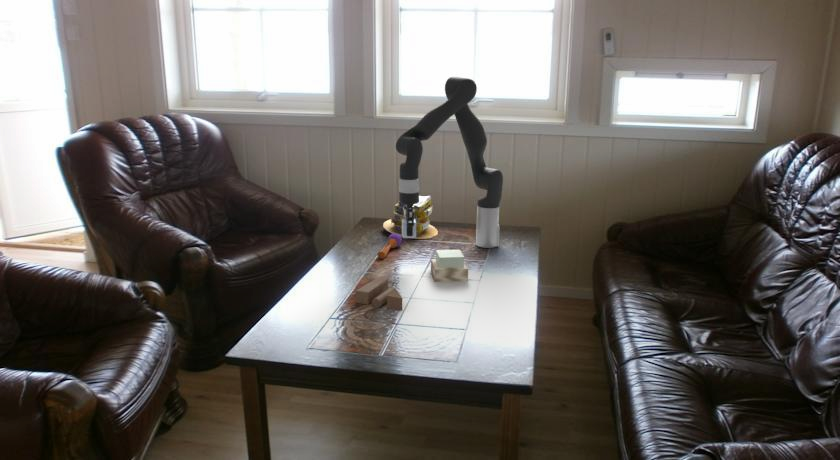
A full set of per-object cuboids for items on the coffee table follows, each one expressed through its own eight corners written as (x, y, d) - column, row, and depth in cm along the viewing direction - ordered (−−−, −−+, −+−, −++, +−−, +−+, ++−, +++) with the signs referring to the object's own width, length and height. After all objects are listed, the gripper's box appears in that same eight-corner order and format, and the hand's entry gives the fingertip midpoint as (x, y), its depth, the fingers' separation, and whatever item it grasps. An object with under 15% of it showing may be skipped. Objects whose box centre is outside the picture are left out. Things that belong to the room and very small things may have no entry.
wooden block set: (354, 288, 215) (379, 272, 231) (354, 304, 217) (379, 287, 232) (400, 296, 208) (423, 279, 224) (400, 313, 210) (423, 294, 226)
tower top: (459, 259, 247) (459, 249, 246) (463, 267, 239) (464, 257, 238) (435, 260, 246) (436, 250, 245) (439, 268, 238) (439, 257, 237)
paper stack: (448, 231, 302) (449, 195, 297) (416, 243, 282) (417, 205, 278) (404, 222, 315) (405, 188, 311) (372, 233, 296) (372, 197, 291)
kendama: (372, 248, 261) (389, 232, 279) (376, 262, 263) (391, 245, 281) (386, 247, 259) (402, 230, 277) (389, 261, 261) (404, 244, 279)
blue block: (414, 234, 253) (414, 219, 251) (416, 237, 248) (416, 222, 247) (401, 234, 252) (401, 219, 251) (402, 238, 248) (402, 222, 246)
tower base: (462, 271, 250) (462, 258, 249) (467, 281, 239) (468, 268, 237) (430, 271, 249) (431, 259, 247) (434, 282, 237) (435, 269, 236)
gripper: (421, 194, 239) (420, 239, 244) (417, 185, 253) (416, 228, 257) (400, 194, 238) (400, 239, 243) (397, 186, 252) (397, 228, 257)
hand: (408, 233), depth 250 cm, fingers closed on blue block, 5 cm apart
